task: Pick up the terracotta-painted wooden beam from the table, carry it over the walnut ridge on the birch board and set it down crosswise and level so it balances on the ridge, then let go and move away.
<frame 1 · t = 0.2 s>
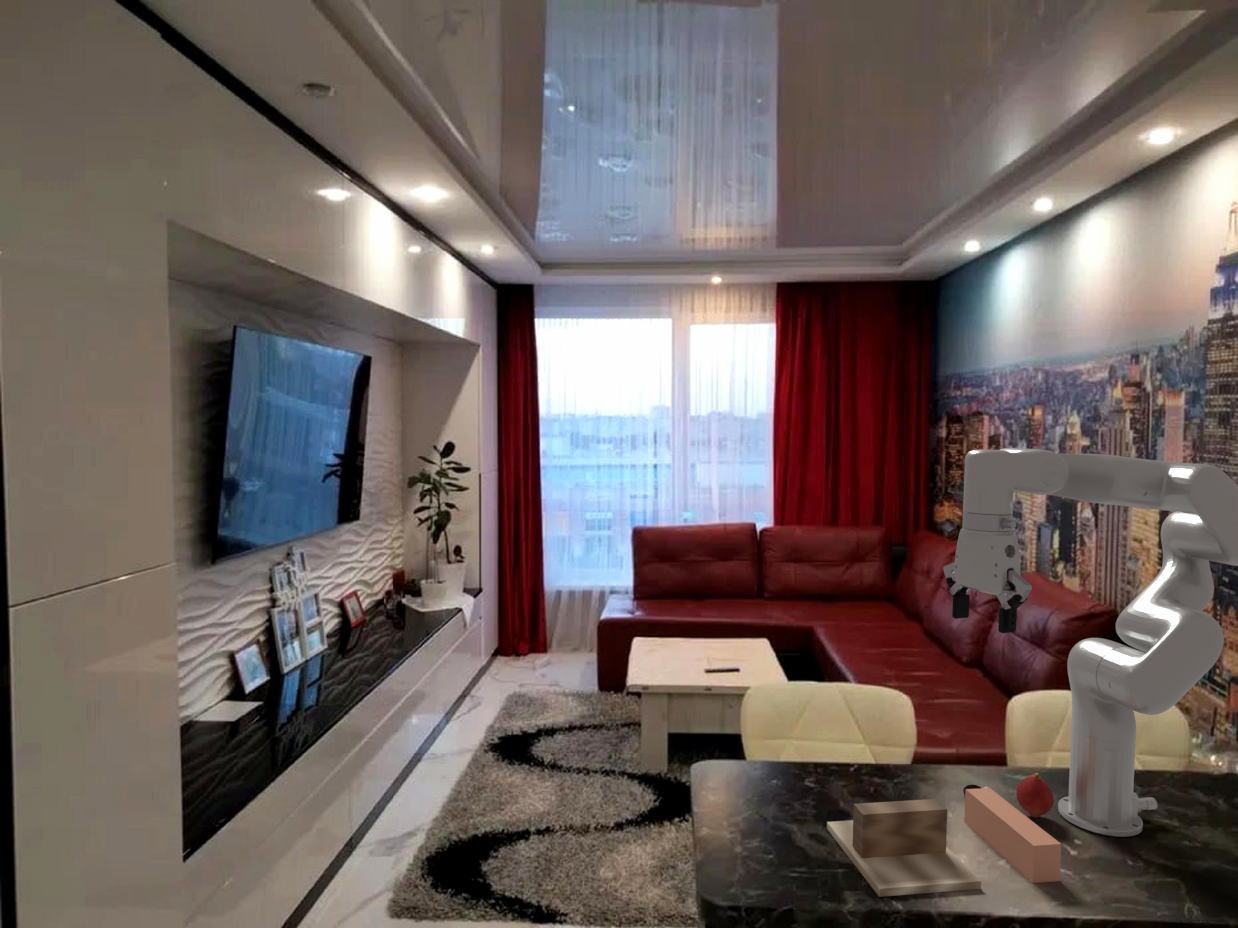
hand: (983, 624, 130), 35 cm above the table, tool pointing down, fingers open, 9 cm apart
beam: (1008, 850, 125), on the table
watch: (980, 807, 140), on the table
onion: (1033, 817, 136), on the table
stand: (898, 856, 123), on the table
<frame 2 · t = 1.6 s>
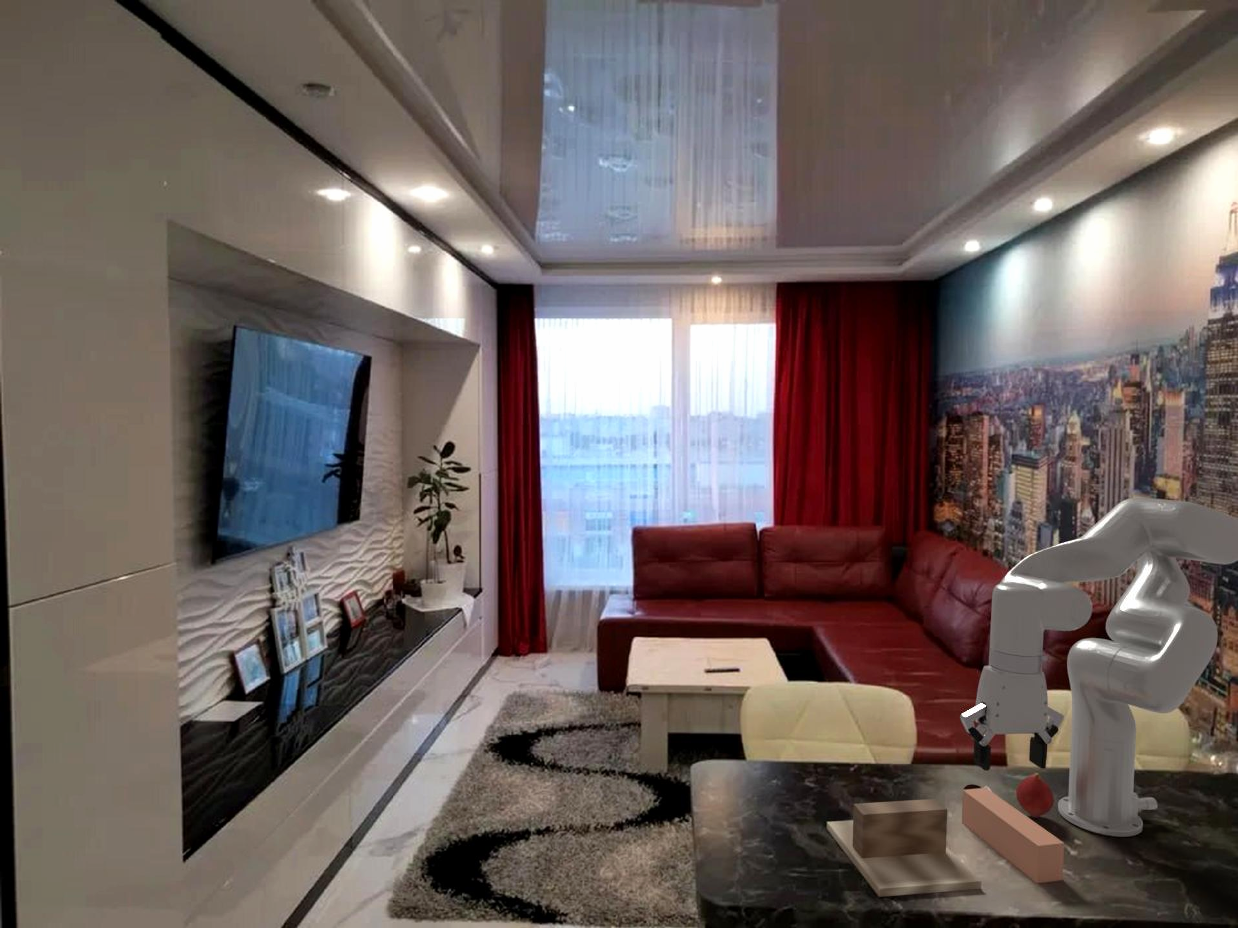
hand: (1009, 765, 124), 14 cm above the table, tool pointing down, fingers open, 9 cm apart
nothing on the table moved.
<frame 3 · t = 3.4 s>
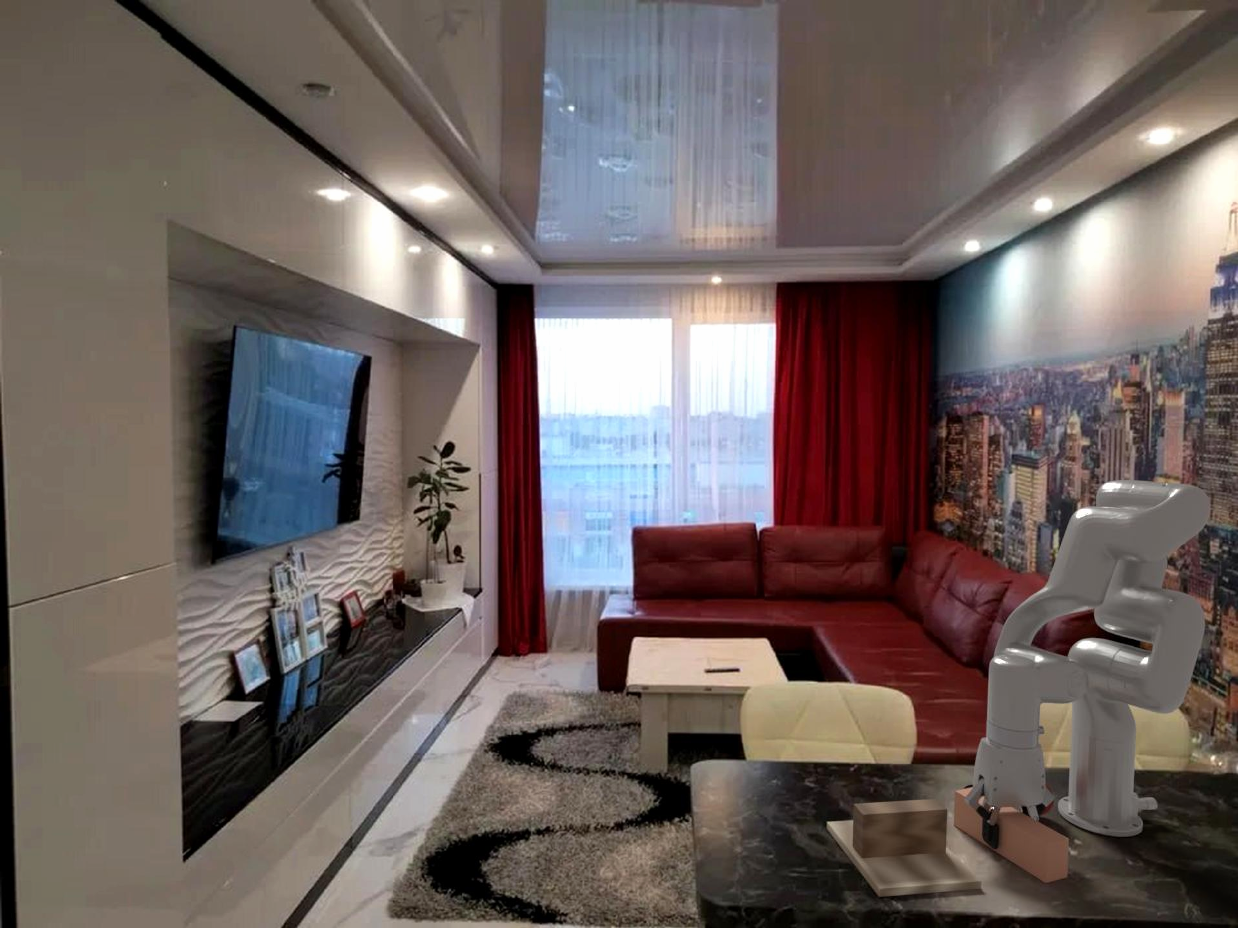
hand: (1007, 842, 125), 1 cm above the table, tool pointing down, fingers closed on beam, 5 cm apart
beam: (1007, 849, 125), on the table, touching gripper
everything else where it was.
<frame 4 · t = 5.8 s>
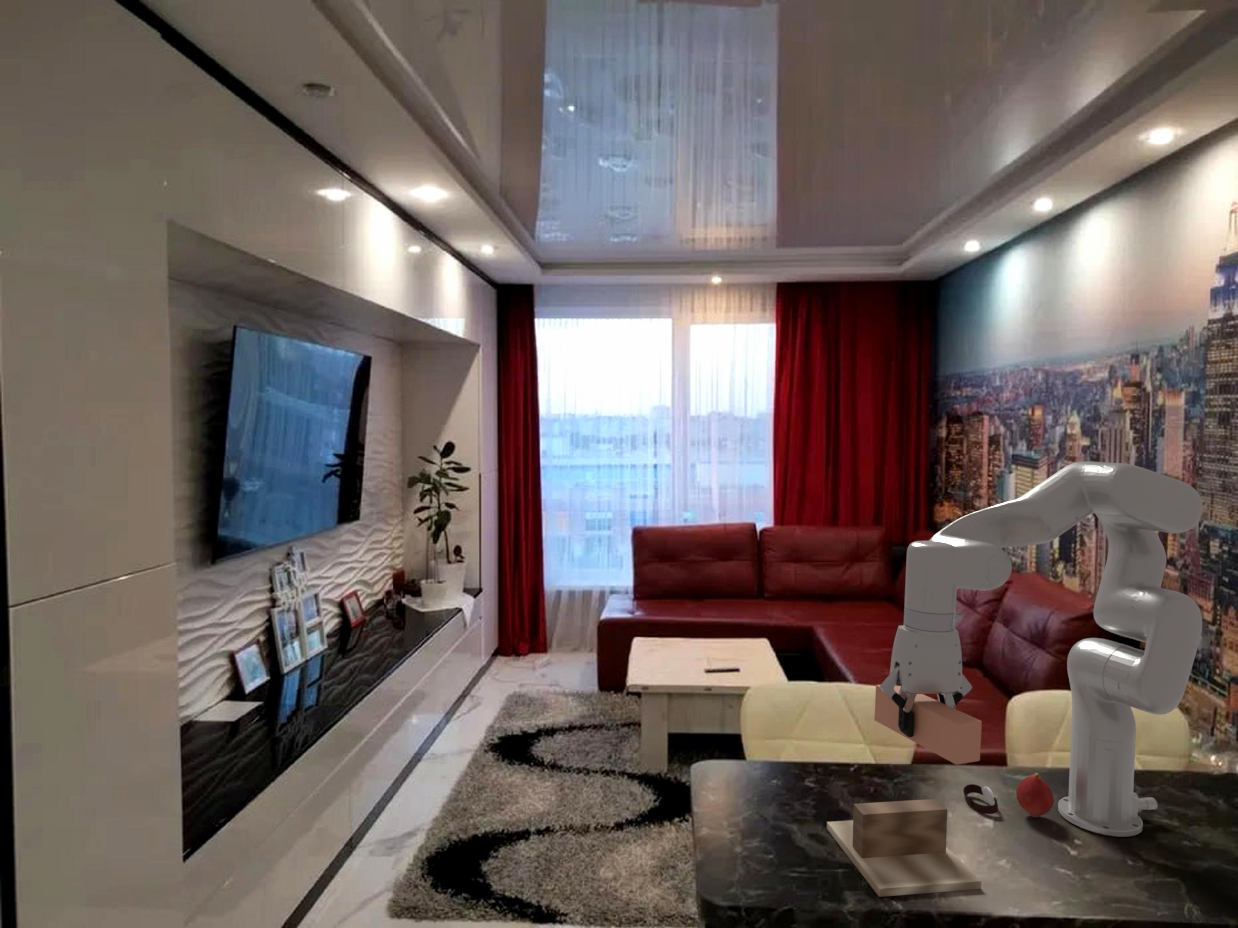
hand: (924, 732, 122), 20 cm above the table, tool pointing down, fingers closed on beam, 5 cm apart
beam: (923, 739, 122), point 19 cm above the table, touching gripper
everything else where it was.
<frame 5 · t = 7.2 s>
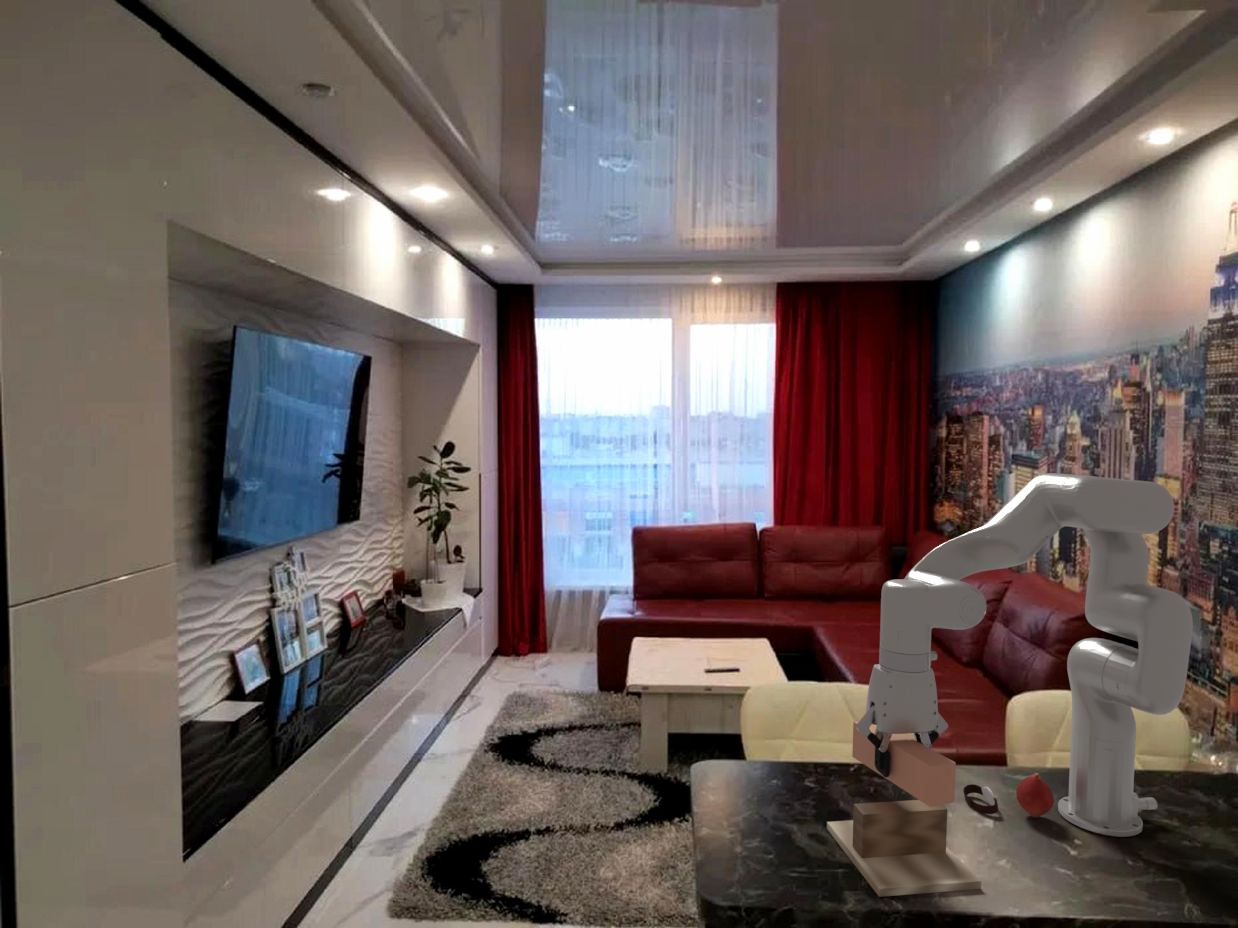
hand: (900, 771, 122), 14 cm above the table, tool pointing down, fingers closed on beam, 5 cm apart
beam: (900, 777, 122), point 13 cm above the table, touching gripper
everything else where it was.
when the fingers open (10 cm above the table, at t = 8.3 s): beam stays where it is, resting on stand.
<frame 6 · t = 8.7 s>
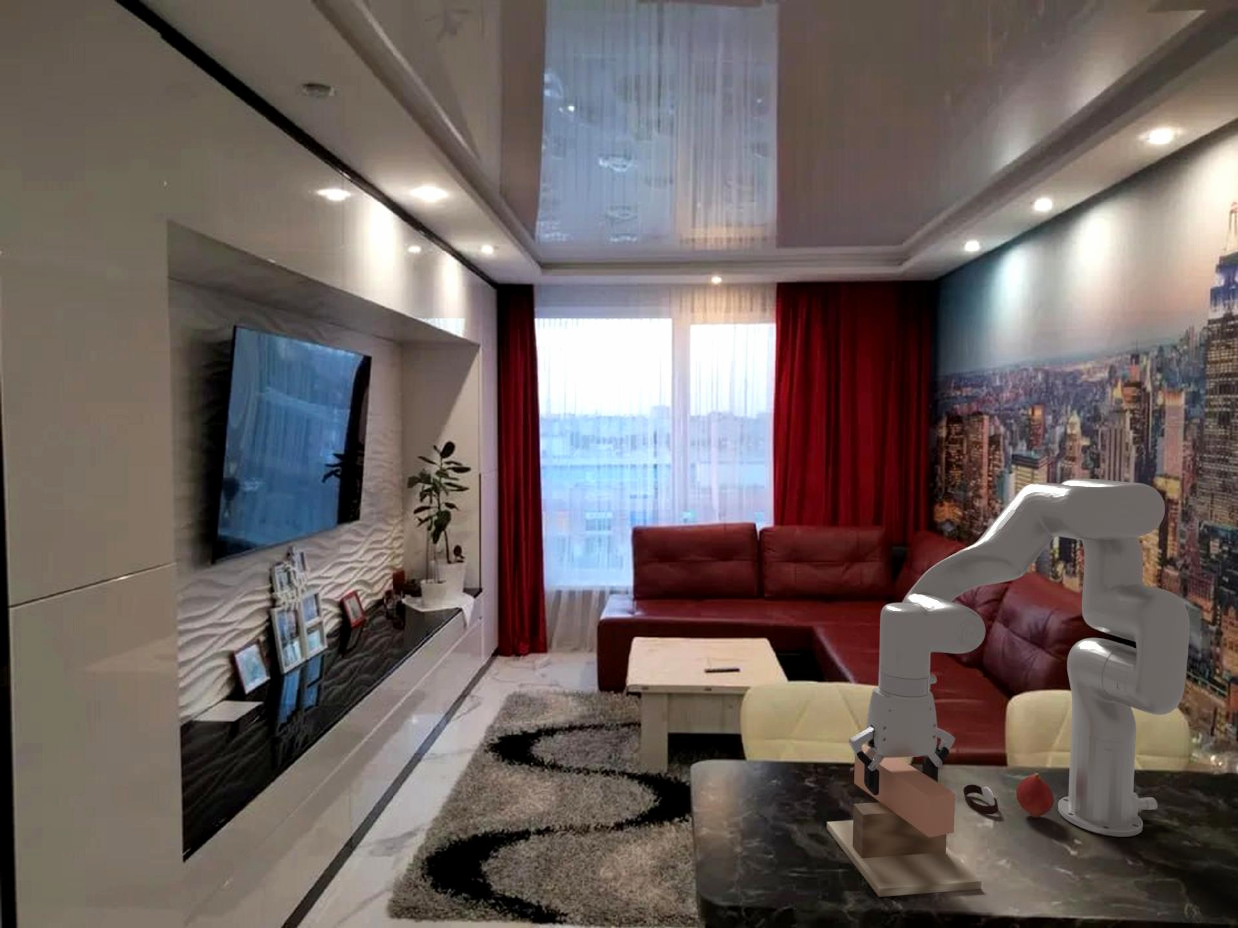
hand: (900, 789, 122), 11 cm above the table, tool pointing down, fingers open, 9 cm apart
beam: (900, 806, 122), point 8 cm above the table, touching stand
everything else where it was.
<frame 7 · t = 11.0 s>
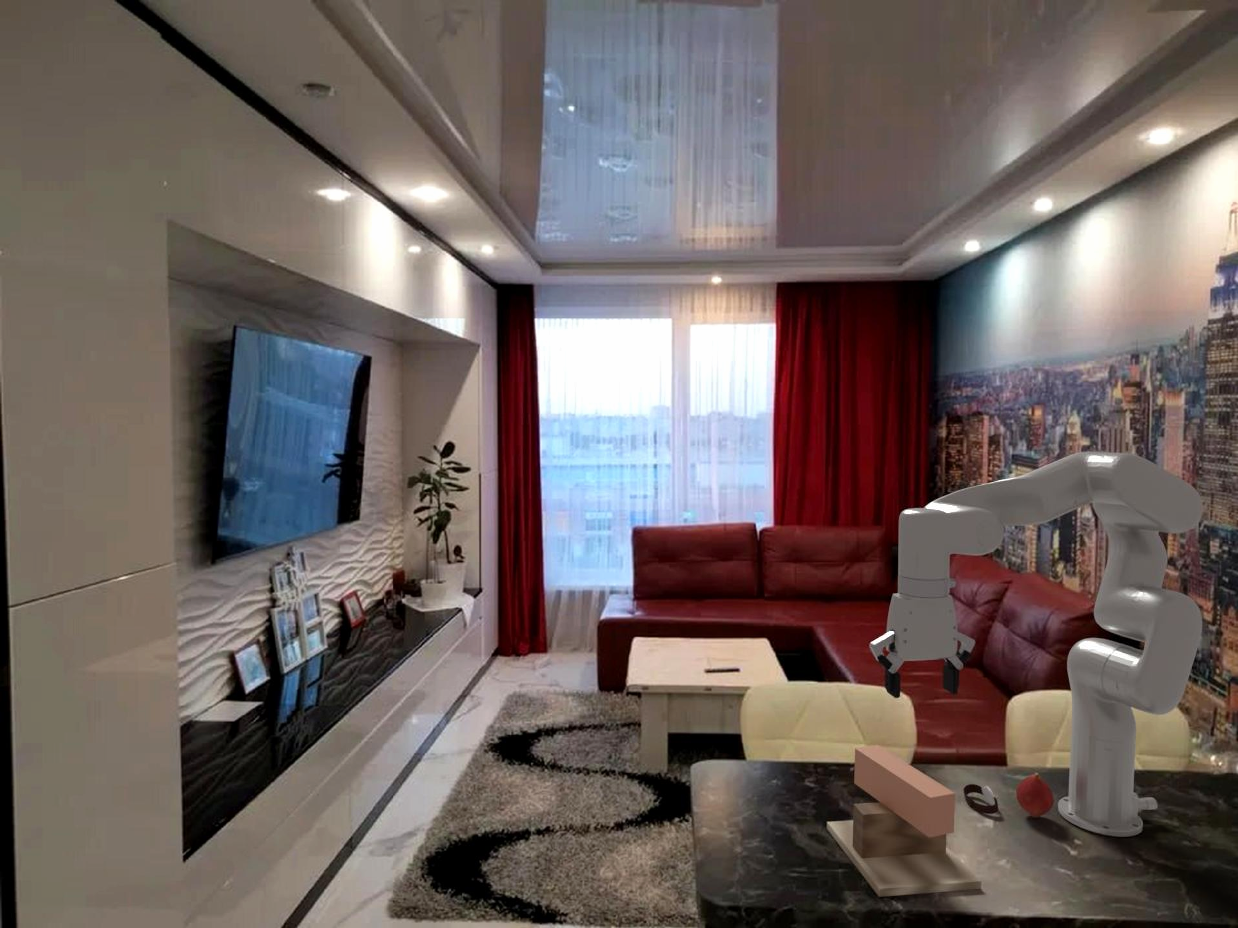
hand: (921, 693, 123), 26 cm above the table, tool pointing down, fingers open, 9 cm apart
nothing on the table moved.
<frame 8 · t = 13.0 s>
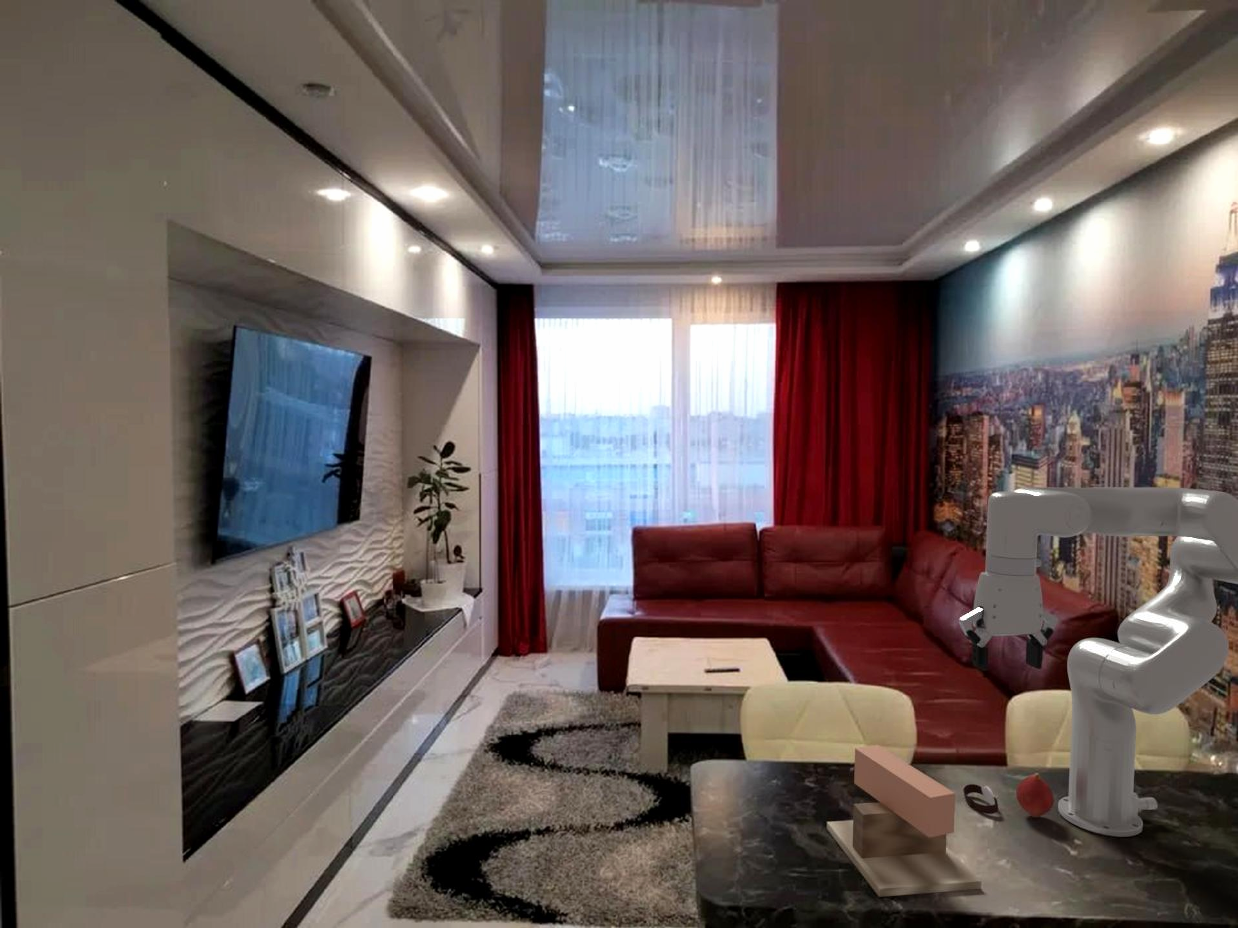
hand: (1006, 667, 129), 28 cm above the table, tool pointing down, fingers open, 9 cm apart
nothing on the table moved.
at the end: beam 0.2 cm off-centre on the stand, point 8.2 cm above the stand's base; beam tilted 0°; beam touching stand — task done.
